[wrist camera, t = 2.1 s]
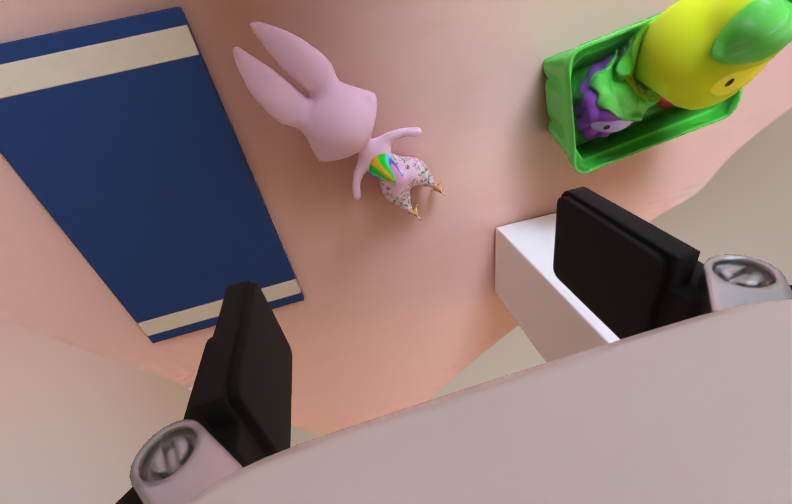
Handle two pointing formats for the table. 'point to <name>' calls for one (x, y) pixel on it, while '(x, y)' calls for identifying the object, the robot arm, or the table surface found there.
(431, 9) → the table surface
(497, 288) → the milk carton
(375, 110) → the rabbit figure
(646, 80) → the fruit basket
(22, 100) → the cloth
